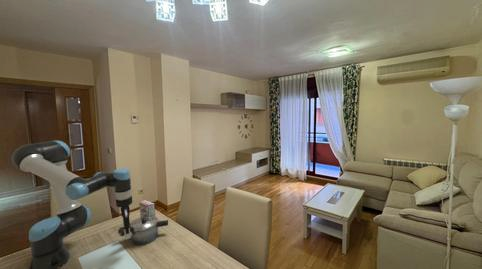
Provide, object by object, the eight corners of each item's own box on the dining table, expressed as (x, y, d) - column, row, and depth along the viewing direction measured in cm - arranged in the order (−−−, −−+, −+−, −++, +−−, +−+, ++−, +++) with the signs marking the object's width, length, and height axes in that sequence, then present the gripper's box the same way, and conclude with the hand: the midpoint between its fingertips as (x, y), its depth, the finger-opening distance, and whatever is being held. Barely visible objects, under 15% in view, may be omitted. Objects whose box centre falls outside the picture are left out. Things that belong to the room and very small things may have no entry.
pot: (116, 250, 111) (114, 236, 110) (124, 234, 126) (122, 221, 125) (167, 240, 119) (166, 227, 118) (169, 227, 133) (168, 214, 132)
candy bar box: (140, 224, 138) (138, 202, 136) (147, 220, 142) (145, 199, 140) (149, 228, 132) (148, 206, 130) (156, 225, 136) (154, 203, 134)
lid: (127, 240, 106) (126, 234, 105) (114, 231, 114) (113, 225, 114) (162, 221, 123) (162, 216, 123) (149, 214, 132) (148, 210, 132)
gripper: (133, 199, 101) (137, 241, 104) (130, 191, 112) (133, 229, 115) (116, 204, 97) (120, 247, 100) (115, 195, 107) (118, 234, 110)
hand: (127, 237), depth 107 cm, fingers closed
